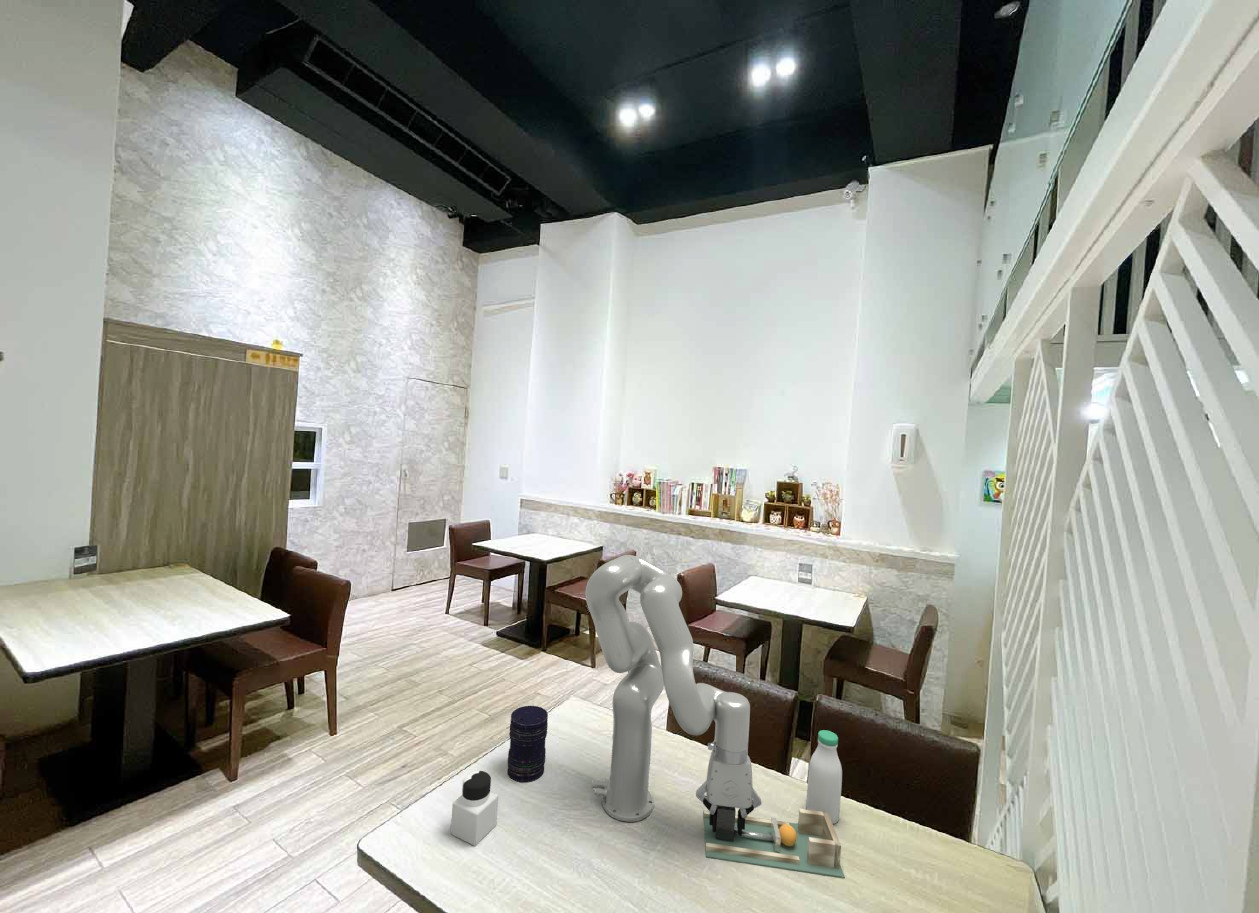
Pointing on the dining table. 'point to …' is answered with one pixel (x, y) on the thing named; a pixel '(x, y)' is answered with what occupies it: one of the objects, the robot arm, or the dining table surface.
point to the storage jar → (527, 743)
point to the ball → (787, 835)
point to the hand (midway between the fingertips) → (726, 828)
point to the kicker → (728, 832)
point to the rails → (751, 852)
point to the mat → (769, 850)
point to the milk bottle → (825, 777)
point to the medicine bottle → (474, 808)
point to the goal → (820, 849)
